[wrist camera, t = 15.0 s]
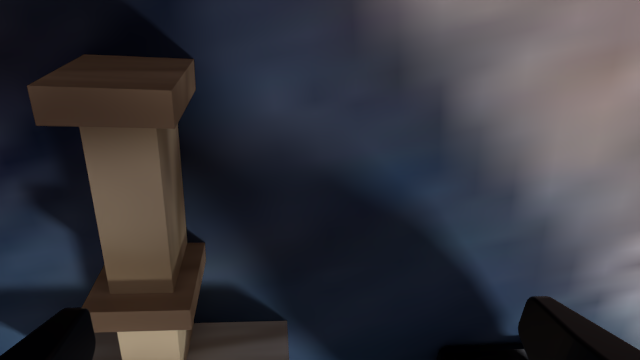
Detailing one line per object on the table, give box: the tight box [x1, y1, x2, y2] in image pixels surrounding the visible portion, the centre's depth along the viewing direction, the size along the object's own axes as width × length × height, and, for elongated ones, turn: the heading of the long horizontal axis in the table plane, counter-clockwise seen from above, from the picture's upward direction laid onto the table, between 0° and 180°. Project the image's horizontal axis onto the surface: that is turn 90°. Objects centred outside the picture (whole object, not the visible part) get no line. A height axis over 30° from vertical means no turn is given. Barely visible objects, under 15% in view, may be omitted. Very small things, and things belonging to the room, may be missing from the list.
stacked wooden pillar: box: [27, 54, 289, 360], centre depth 18 cm, size 15×12×4 cm
